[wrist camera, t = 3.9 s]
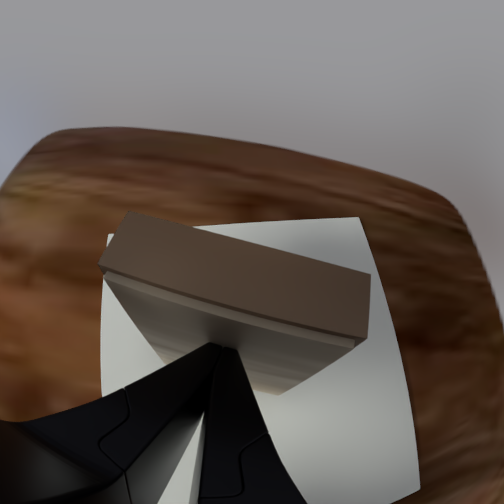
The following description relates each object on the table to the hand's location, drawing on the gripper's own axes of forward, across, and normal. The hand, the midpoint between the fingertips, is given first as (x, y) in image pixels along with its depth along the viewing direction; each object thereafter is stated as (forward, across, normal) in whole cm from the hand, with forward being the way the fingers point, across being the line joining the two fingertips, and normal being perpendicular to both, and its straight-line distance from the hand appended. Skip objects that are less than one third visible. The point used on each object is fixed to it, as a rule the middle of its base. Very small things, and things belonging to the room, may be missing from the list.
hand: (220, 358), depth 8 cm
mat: (+5, -2, +5) cm, 7 cm away
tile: (+5, 0, +4) cm, 6 cm away
